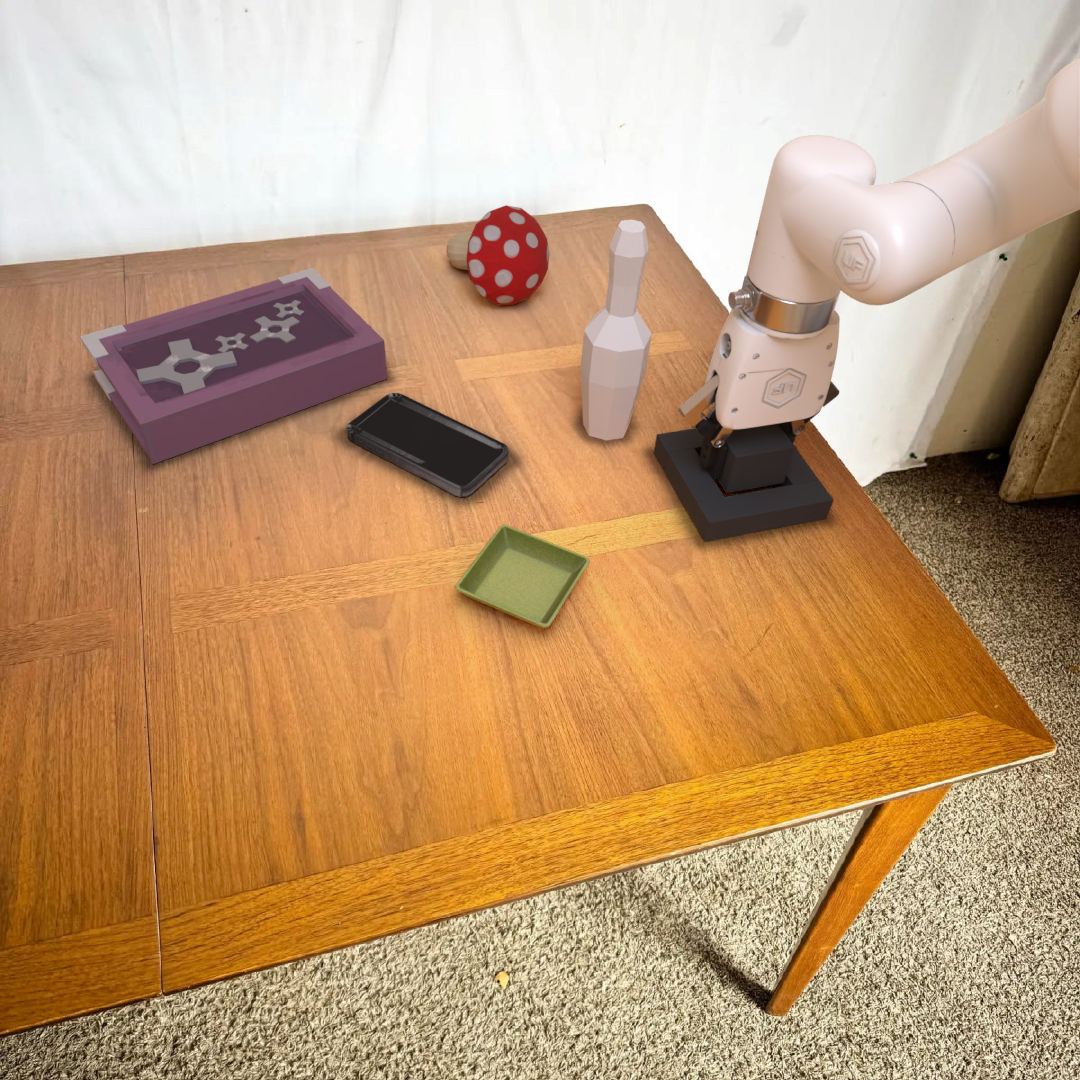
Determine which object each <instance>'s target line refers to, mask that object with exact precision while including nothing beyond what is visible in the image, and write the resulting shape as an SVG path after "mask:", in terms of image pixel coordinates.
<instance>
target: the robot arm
mask: <svg viewBox="0 0 1080 1080" xmlns="http://www.w3.org/2000/svg"><path fill="white" fill-rule="evenodd" d="M876 179H877V168H876V164H875V160H874V158H873V157H872V155H870V154H869V152H868V151H867V150H866V149H864V148H863V147H862V146H860V145H858V144H857V143H854V142H852V141H850V140H847V139H844V138H840V137H836V136H831V135H823V134H822V135H820V134H809V135H802V136H798V137H795V138H792V139H791V140H789V141H787V142H786V143H785V144H784V145H782V146H781V148H779V149H778V151H777V152H776V155H775V157H774V158H773V161H772V165H771V169H770V172H769V176H768V180H767V185H766V188H765V189H766V190H765V194H764V198H763V201H762V206H761V210H760V215H759V217H758V218H759V219H758V223H757V226H756V227H757V228H756V231H755V236H754V240H753V245H752V249H751V253H750V257H749V261H748V265H747V269H746V270H747V271H746V274H745V275H744V277H743V282H742V286H741V288H739V289H737V290H736V291H731V292H729V293H728V299H727V301H728V305H729V308H730V309H731V310H730V311H729V314H728V315H727V317H726V319H725V321H724V323H723V326H722V329H721V331H720V334H719V336H718V339H717V341H716V344H715V346H714V350H713V352H712V355H711V359H710V362H709V366H708V369H707V373H706V377H705V381H704V384H703V385H702V386H701V387H700V388H699V389H698V390H697V391H695V392H694V393H693V394H692V395H691V396H690V397H688V398H687V399H686V400H685V401H684V402H682V404H681V405H679V407H678V409H677V410H678V413H679V414H680V416H681V417H682V419H683V420H684V422H686V423H687V424H688V425H689V426H691V427H692V429H693V428H695V429H696V430H697V431H698V432H699V433H700V434H701V435H702V436H703V437H704V440H703V445H702V449H701V453H700V461H701V464H702V465H703V467H704V468H707V470H708V472H709V473H710V475H711V477H712V478H713V480H714V481H718V479H720V478H721V474H722V470H723V467H724V463H725V459H726V455H727V451H728V447H727V446H726V444H725V442H726V441H727V439H728V438H729V436H730V435H731V433H732V432H733V430H738V429H746V428H753V427H759V426H765V425H772V424H779V425H780V426H781V428H782V429H783V431H784V432H785V433H786V435H787V436H788V438H789V439H790V440H791V442H792V443H793V444H794V443H795V440H796V438H797V435H798V436H799V435H801V434H802V433H803V432H804V431H805V429H806V424H807V423H808V422H810V421H811V420H813V418H815V417H816V416H817V415H818V414H820V412H821V410H822V409H823V408H825V407H826V406H827V405H828V404H829V403H831V402H832V401H833V400H835V399H836V398H837V397H838V396H839V395H840V389H839V388H838V387H837V386H836V385H835V384H834V382H833V381H832V379H833V378H832V377H833V373H834V369H835V365H836V359H837V353H838V349H839V340H840V339H839V338H840V323H841V322H840V321H841V318H840V315H839V313H838V312H837V311H836V310H835V309H836V306H837V303H838V300H839V297H840V294H841V292H842V293H844V294H845V295H847V296H848V297H849V298H851V299H853V300H855V301H856V302H859V303H861V304H865V305H869V306H884V305H890V304H893V303H895V302H897V301H900V300H902V299H904V298H906V297H908V296H910V295H912V294H913V293H915V292H918V290H921V289H922V288H924V287H926V286H928V285H929V284H931V283H932V282H933V283H934V282H935V281H937V280H938V279H940V278H942V277H943V276H946V275H947V274H949V273H951V272H953V271H955V270H957V269H959V268H960V267H963V266H964V265H967V264H969V263H971V262H973V261H974V260H976V259H978V258H980V257H982V256H984V255H986V254H988V253H990V252H992V251H994V250H996V249H998V248H1000V247H1002V246H1004V245H1006V244H1008V243H1010V242H1013V241H1014V240H1017V239H1019V238H1020V237H1022V236H1025V235H1027V234H1029V233H1032V232H1034V231H1035V230H1037V229H1039V228H1042V227H1044V226H1046V225H1048V224H1050V223H1052V222H1054V221H1057V220H1059V219H1061V218H1063V217H1066V216H1067V215H1070V214H1073V213H1075V212H1078V211H1080V56H1079V57H1078V58H1076V59H1073V61H1070V62H1069V63H1068V64H1066V65H1065V66H1064V67H1062V68H1061V69H1059V71H1057V73H1054V75H1053V76H1052V78H1051V79H1049V82H1048V84H1047V86H1046V89H1045V93H1044V96H1043V97H1042V99H1041V100H1039V101H1038V102H1036V104H1034V105H1033V106H1032V107H1030V108H1029V109H1027V110H1026V111H1025V112H1023V113H1021V114H1020V115H1018V116H1017V117H1015V118H1014V119H1012V120H1011V121H1009V122H1007V123H1004V125H1002V126H1000V127H999V128H997V129H996V130H994V131H992V132H991V133H988V134H987V135H985V136H983V137H982V138H980V139H979V140H977V141H975V142H973V143H972V144H970V145H968V146H966V147H964V148H963V149H961V150H959V151H958V152H956V153H953V154H952V155H950V156H949V157H947V158H945V159H943V160H941V161H939V162H937V163H935V164H933V165H931V166H929V167H926V168H923V169H921V170H919V171H916V172H914V173H911V174H909V175H907V176H905V177H903V178H901V179H898V180H896V181H894V182H892V183H891V182H888V183H881V184H875V183H876ZM711 405H712V406H711ZM710 406H711V408H710V409H709V411H708V412H707V414H706V415H705V414H704V412H705V411H706V410H707V409H708V408H709V407H710ZM718 422H719V423H720V424H721V425H720V426H719V427H718V426H717V424H718Z"/></svg>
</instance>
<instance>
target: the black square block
mask: <svg viewBox="0 0 1080 1080" xmlns="http://www.w3.org/2000/svg"><path fill="white" fill-rule="evenodd" d="M720 425H721V424H720V423H719V422H718V424H717V426H718V427H719V426H720ZM703 440H704V439H703ZM725 444H726V446H727V447H728V451H727V455H726V459H725V463H724V467H723V470H722V474H721V478H720V479H717V481H718V483H719V484H720V486H721V488H722V489H723V491H724V492H725V493H726V494H730V493H736V492H740V491H748V490H753V489H758V488H763V487H769V486H775V484H781V483H784V481H785V477H786V474H787V471H788V468H789V465H790V462H791V459H792V456H793V453H794V450H795V447H796V446H795V444H794V443H792V442H791V440H790V439H789V438H788V436H787V435H786V433H785V432H784V431H783V429H782V428H781V426H780V425H779V424H772V425H765V426H759V427H753V428H746V429H738V430H733V432H732V433H731V435H730V436H729V438H728V439H727V441H726V442H725ZM702 445H703V443H702ZM701 449H702V447H701Z"/></svg>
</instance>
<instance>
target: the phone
mask: <svg viewBox="0 0 1080 1080" xmlns="http://www.w3.org/2000/svg"><path fill="white" fill-rule="evenodd" d="M346 433H347V438H348V440H349V442H351V443H353V444H355V445H357V446H359V447H361V448H363V449H365V450H366V451H368V452H371V453H372V454H374V455H376V456H378V457H380V458H381V459H384V460H386V461H388V462H390V463H391V464H393V465H396V466H397V467H400V468H401V469H404V470H405V471H407V472H409V473H411V474H413V475H414V476H417V477H419V478H421V479H423V480H425V481H426V482H429V483H430V484H432V485H434V486H436V487H438V488H440V489H442V490H443V491H445V492H448V493H449V494H451V495H453V496H456V497H458V498H467V497H470V496H471V495H473V494H474V493H475V492H477V491H478V490H479V489H480V488H481V487H482V486H483V485H484V484H485V483H486V482H487V481H488V480H489V479H490V478H492V477H493V476H494V475H495V474H496V473H497V472H498V471H499V470H500V469H501V468H503V467H504V466H505V465H506V464H507V462H508V461H509V453H510V451H509V446H508V445H507V444H505V443H504V442H501V441H499V440H498V439H496V438H493V437H492V436H489V435H488V434H485V433H483V432H481V431H479V430H476V429H475V428H473V427H471V426H469V425H467V424H464V423H462V422H460V421H459V420H456V419H455V418H452V417H450V416H448V415H446V414H444V413H442V412H439V411H437V410H436V409H434V408H431V407H429V406H428V405H425V404H424V403H421V402H419V401H417V400H415V399H413V398H410V397H409V396H407V395H405V394H402V393H400V392H391V393H388V394H386V395H385V396H383V397H382V398H380V399H379V400H378V401H377V402H375V403H374V404H372V405H371V406H370V407H368V408H367V409H366V410H365V411H363V412H362V413H361V414H359V415H358V416H357V417H355V418H354V419H352V420H351V421H350V422H348V424H347V425H346Z"/></svg>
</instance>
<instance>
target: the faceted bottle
mask: <svg viewBox="0 0 1080 1080" xmlns="http://www.w3.org/2000/svg"><path fill="white" fill-rule="evenodd" d="M646 228H647V227H646V225H644V223H643V222H642V221H640V220H636V219H624V220H623V219H622V220H621V221H620V222H619V223H618V225H617V227H616V230H615V232H614V234H613V236H612V239H611V241H610V244H609V247H608V281H607V290H606V300H605V304H604V306H602V307H601V308H600V310H598V311H597V312H596V313H595V314H594V315H593V316H592V317H591V318H590V320H589V322H588V323H587V325H586V326H585V328H584V330H583V338H582V346H581V348H582V349H581V359H580V387H581V410H582V411H581V412H582V426H583V427H584V429H585V431H586V433H587V435H588V436H589V437H592V438H596V439H599V440H603V441H612V440H618V439H623V438H624V437H625V435H626V433H627V431H628V430H629V426H630V423H631V421H632V417H633V414H634V411H635V407H636V404H637V401H638V398H639V395H640V392H641V389H642V384H643V382H644V378H645V375H646V372H647V366H648V361H649V354H650V347H651V341H652V335H653V334H652V332H651V331H650V329H649V328H648V326H647V324H646V323H645V321H644V319H643V317H642V316H641V314H640V312H638V304H639V299H640V298H639V297H640V291H641V283H642V279H643V274H644V271H645V266H646V262H647V258H648V255H649V250H650V248H649V243H648V241H649V240H648V236H647V235H648V233H647V229H646Z"/></svg>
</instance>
